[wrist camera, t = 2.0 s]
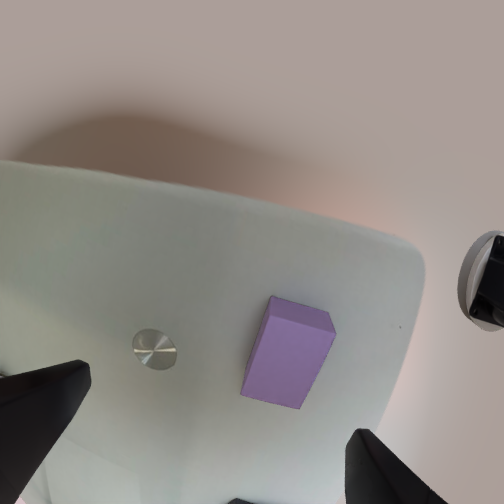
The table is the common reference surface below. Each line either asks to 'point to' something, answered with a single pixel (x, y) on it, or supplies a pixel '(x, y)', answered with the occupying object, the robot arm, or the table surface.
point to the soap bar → (287, 353)
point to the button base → (239, 502)
